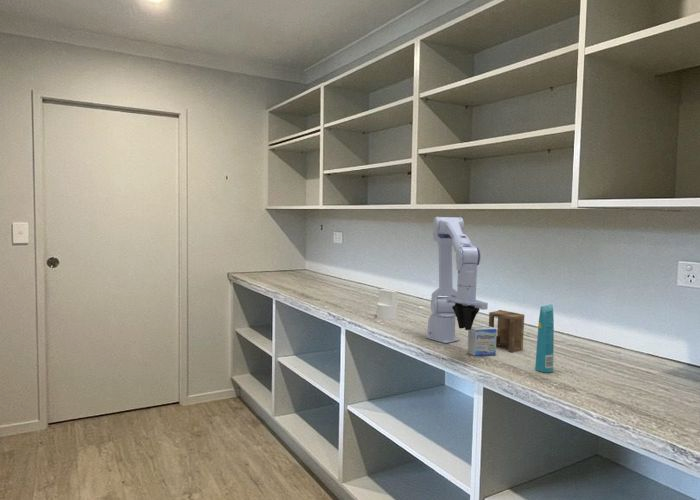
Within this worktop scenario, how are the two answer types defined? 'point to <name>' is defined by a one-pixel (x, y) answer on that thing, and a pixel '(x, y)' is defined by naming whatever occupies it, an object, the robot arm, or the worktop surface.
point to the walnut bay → (508, 329)
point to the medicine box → (482, 341)
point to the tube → (545, 340)
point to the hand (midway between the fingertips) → (465, 328)
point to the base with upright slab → (387, 305)
